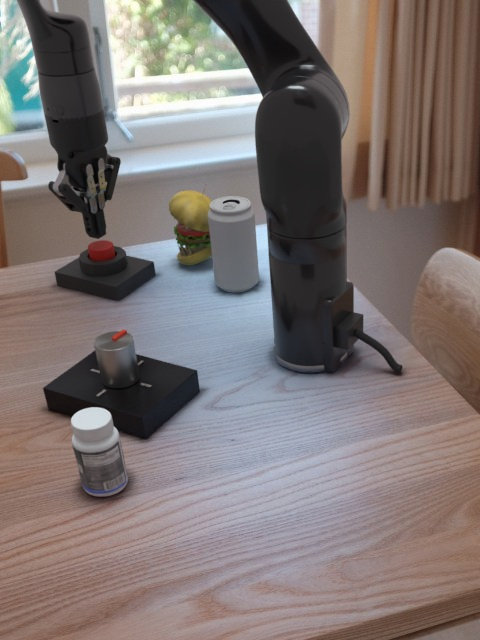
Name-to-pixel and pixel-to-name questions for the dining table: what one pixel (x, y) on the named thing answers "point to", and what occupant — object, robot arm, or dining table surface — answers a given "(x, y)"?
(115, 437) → the pill bottle
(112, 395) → the panel
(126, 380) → the knob
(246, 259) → the beverage can
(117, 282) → the button block
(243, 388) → the dining table surface
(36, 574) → the dining table surface
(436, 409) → the dining table surface
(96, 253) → the button
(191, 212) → the hamburger
